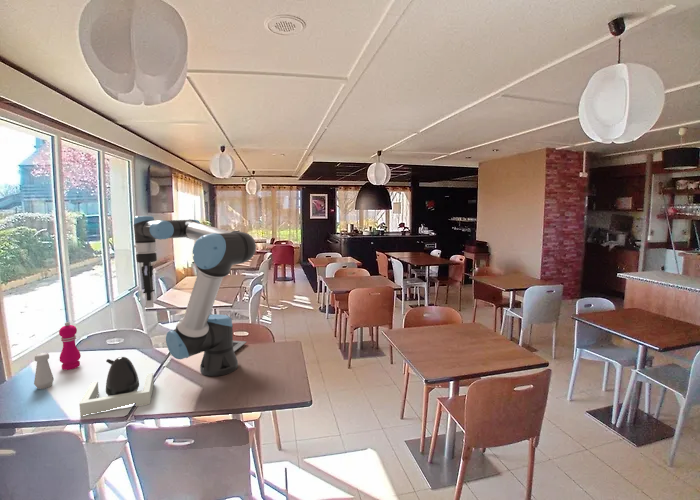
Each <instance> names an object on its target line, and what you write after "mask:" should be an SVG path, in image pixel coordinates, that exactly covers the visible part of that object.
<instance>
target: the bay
mask: <svg viewBox="0 0 700 500" xmlns="http://www.w3.org/2000/svg"><path fill="white" fill-rule="evenodd" d="M154 379H155V378H154V373H153V372H152V373H147V374H146V378H145V381H144V386H143V389H142V390H137V391H136V392H131V393H125V394H119V395H113V396H108V395H107V396H103V397H98V396H97V395H99V394H100V392H99V382H98V381H93V382H90V383H89V386H88V388H87V390H86V392H85V393H84V395H83V397H82V398H81V399H80V401H79V415H80V416H83V415H86V414H91V413H97V412H101V411H106V410H110V409H113V408H117V407H121V406H125V405H129V404H133V403H136V407H141V406H146V405H150V404H151V400H152V395H153V389H154V385H155V383H154ZM98 393H99V394H98ZM96 397H97V398H96ZM83 417H84V416H83Z"/></svg>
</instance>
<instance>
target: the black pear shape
mask: <svg viewBox="0 0 700 500" xmlns="http://www.w3.org/2000/svg"><path fill="white" fill-rule="evenodd" d="M105 361H106V363H107V364H109V365H110V367H109V369H108V370H109V371H108V372H107V376H106V377H107V378H106V383H105V395H107V396H113V395H119V394H125V393H131V392H136V391H139V387H140V380H139V379H140V378H139V376H138V372H137V370H136V367H135V366H134V364H133V363H132V361H131V359H129V358H128V357H126V356H120V357H117V358H115V359H114V360H112V359H109V358H107V359H106V360H105Z"/></svg>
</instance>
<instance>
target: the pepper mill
mask: <svg viewBox="0 0 700 500" xmlns="http://www.w3.org/2000/svg"><path fill="white" fill-rule="evenodd" d="M77 329H78V328H77V327H76V326H75V325H73V324H71V322H69V321H65V323H64V325H63V326H62V327H61V328H59V330H58V334H59V336H60V337H61V338H60V340H61V342H62V350H61V352H60V355H59V362H60V363H62V364H61V370H63V371H71V370H75V369H77V368H79V367H80V366H81V361H79V360H81V356H82V355H81V352H80V350H79V349H78V347H77V345H76V339H77V338H76V337H77V335H76V334H77V333H78V330H77Z"/></svg>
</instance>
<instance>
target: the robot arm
mask: <svg viewBox="0 0 700 500" xmlns="http://www.w3.org/2000/svg"><path fill="white" fill-rule="evenodd" d="M133 231H134V239H135V240H134V241H135V243H134V245H133V247H134V248H135V252H136V254H135V256H136V257H135V258H136V262H137V263H140V264H141V263H142V266H141V268H140V269H141V273H142V279H143V292H142V293H143V294H145V296H144V297H145V308H146V309H149V308H150V309H151V308H154V305H155V304H154V292H155V289H154V282H153V281H154V280H153V275H154V273H153V272H154V265H152V263H154V262H157V259H158V258H157V257H158V256H157V255H158V254H157V253H156V252H157V242H156V240H161V241H162V240H168V239H177V238H179V239H181V238H186V239H189V240H192V241H195V242H194V245H193V248H192V255H193V256H192V259H193V262H194V264H195V267H196V269H197V270H198V272H197V275H196V278H195V281H194V285H193V288H192V291H191V293H190V296H189V300H188V303H187V306H186V310H185V311H184V316H183V317H181V318H180V319H179V320H178V321H177V323H176V326H175V329H170V330H169V331H168V332H167V333H166V335H165V342H166V347H167V350H168V352H169V354H170V355H171V356H172V357H173V358H174V359H176V360H184V359H188V358H190V357H193V356H195V355H198V354H200V353H203V356H202V359H201V362H200V366H199V367H200V368H199V371H200V373H201V375H203V376H207V377H219V376H224V375H229V374H231V373H233V372H235V371H236V370H237V369H238V368H239V361H238V358H237V355H236V353H235V352H234V350H233V341H234V337H233V335H234V333H233V331H234V330H233V328H234V327H233V326H234V325H233V319H232V317H231V316H230V315H228V314H227V315H226V314H217V313H215V314H211V312H212V310H213V307H214V304H215V302H216V298H217V296H218V292H219V290H220V287H221V285H222V282H223V279H224V278H225V277H227V276H228V275H229V274H230V273H231V269H232V267H233V266H235V265H240V264H241V265H242V264H244V263H247V262H249V261H250V260H252V258H253V257H254V256H255V254H256V251H257V243H256V240H255V239H254V238H253V237H254V236H252V235H250V234H249V233H246V232H244V231H243V232H242V231H240V230H231V231H230V230H229V231H228V230H225V229H222V228H219V227H214V226H211V225H207V224H203V223H202V222H200V220H197V219H191V218H190V219H176V220H173V219H172V220H171V219H170V220H169V219H168V220H167V219H166V220H164V219H163V220H162V219H161V220H160V219H159V220H155V217H154V216H152V215H136V216H134V217H133Z"/></svg>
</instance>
